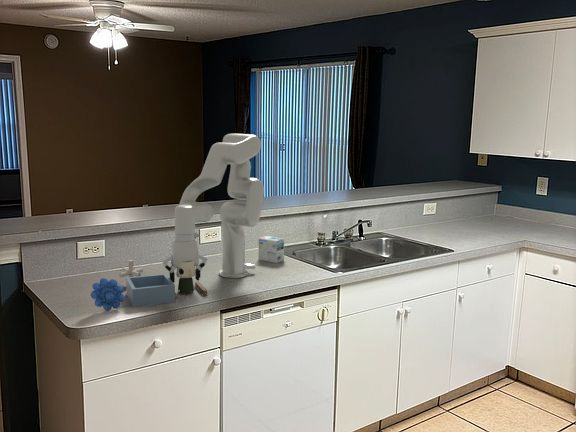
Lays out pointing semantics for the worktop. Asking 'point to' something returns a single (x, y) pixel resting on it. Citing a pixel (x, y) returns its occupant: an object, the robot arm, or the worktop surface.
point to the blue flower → (107, 294)
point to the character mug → (186, 277)
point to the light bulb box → (271, 249)
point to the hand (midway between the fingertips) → (185, 280)
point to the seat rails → (199, 288)
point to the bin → (150, 290)
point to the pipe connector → (130, 271)
